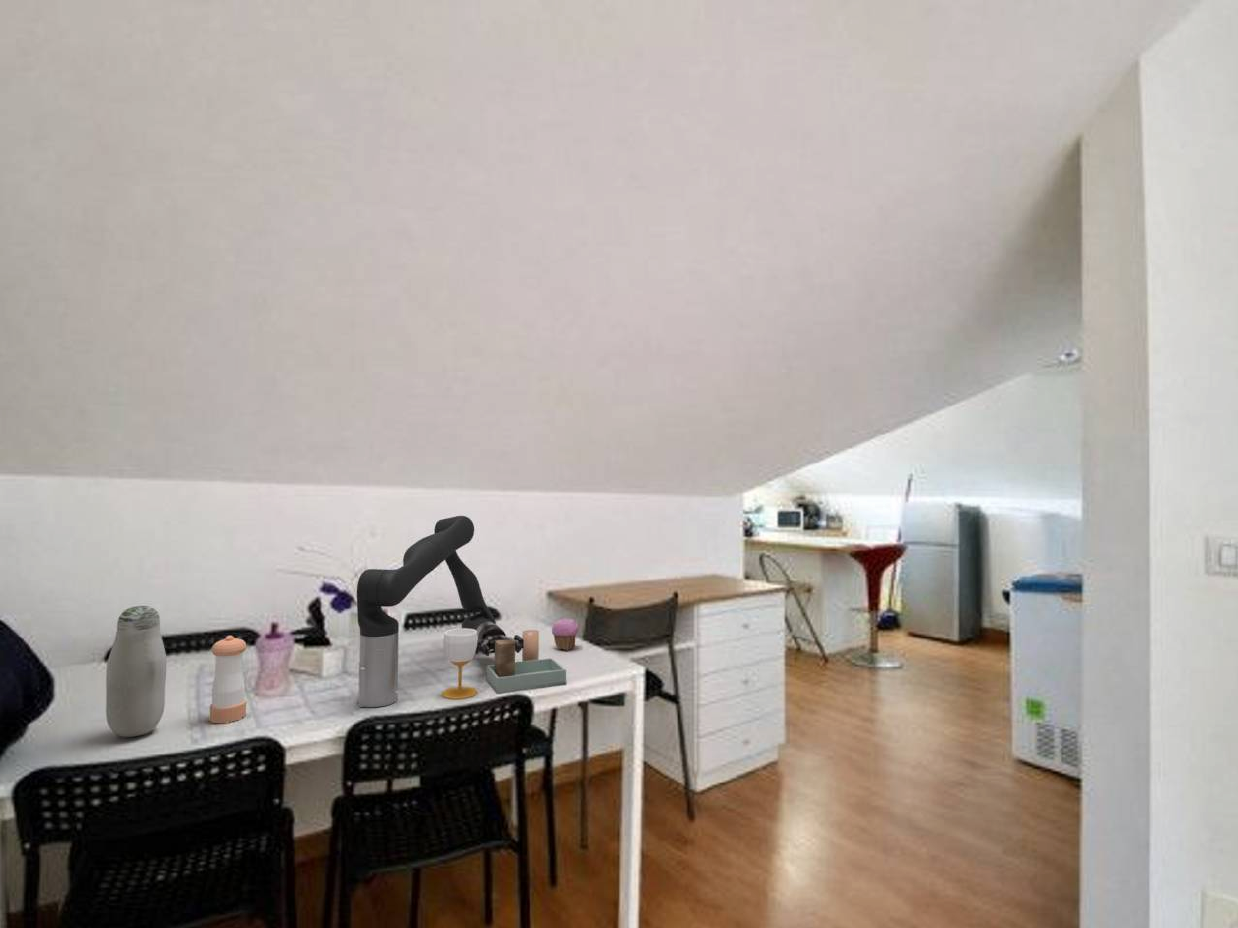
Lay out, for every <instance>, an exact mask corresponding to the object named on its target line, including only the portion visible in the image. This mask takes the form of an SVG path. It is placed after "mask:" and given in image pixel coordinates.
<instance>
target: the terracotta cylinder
mask: <svg viewBox="0 0 1238 928" xmlns="http://www.w3.org/2000/svg"><path fill="white" fill-rule="evenodd" d="M521 635H522V637H521V638H522V639H524V648H523V649H521V653H522V655H521V656H522V657H521V662H523V661H532V660H539V654H540V653H539V652H540V651H539V649H540V647H539V646H540V644H539V643H540V633H539V631H538V630H535V629H530V630H528V629H527V630H524V631H522V634H521Z"/></svg>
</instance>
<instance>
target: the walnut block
mask: <svg viewBox="0 0 1238 928" xmlns="http://www.w3.org/2000/svg"><path fill="white" fill-rule="evenodd" d="M515 662H516V651H515V642H514V641H513V640H511V639H506V640H496V641H495V653H494V665H495V673H496V675H497V676H498V677H506V676H514V675H515Z"/></svg>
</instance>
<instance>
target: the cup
mask: <svg viewBox="0 0 1238 928" xmlns="http://www.w3.org/2000/svg"><path fill="white" fill-rule="evenodd" d="M442 639H443V640H442V641H443V651H444V655H445V657H446V659H447V660H448V661H449V662H450V663H451V664H452V665H454V666H455V667H458V686H456V687H451V688H448V689H446V690H444V691H443V692H442V697H443V698H445V699H449V700H464V699H469V698H472V697H474V696H475V695H477V694H478V689H476V688H474V687H471V686H462V683H463V682H462V681H463V680H462V679H463V676H462V675H463V673H462V672H463V666H465V665H467V664H468V663H470V662H471V661H472V660H473V658H474V656H475V651H476V647H477V640H478V636H477V631H476V630H474V629H466V628H463V629H462V628H454V629H453V628H452V629H449V630H446V631H445V632H444V634H443V638H442Z"/></svg>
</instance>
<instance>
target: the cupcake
mask: <svg viewBox="0 0 1238 928" xmlns="http://www.w3.org/2000/svg"><path fill="white" fill-rule="evenodd" d="M579 631H580V627H579V625H578V623H577V622H576V621H575V620H574V619H572V618H571V619H570V618H563V619H558V620H557V621H555V622H554V624H553V626H552V629H551V634H552V635H553V637H554V643H555V645H556V647H557V649H559V650H564V651H569V650H572V649H574V648H575V646H576V637H577V634H578V633H579Z"/></svg>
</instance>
